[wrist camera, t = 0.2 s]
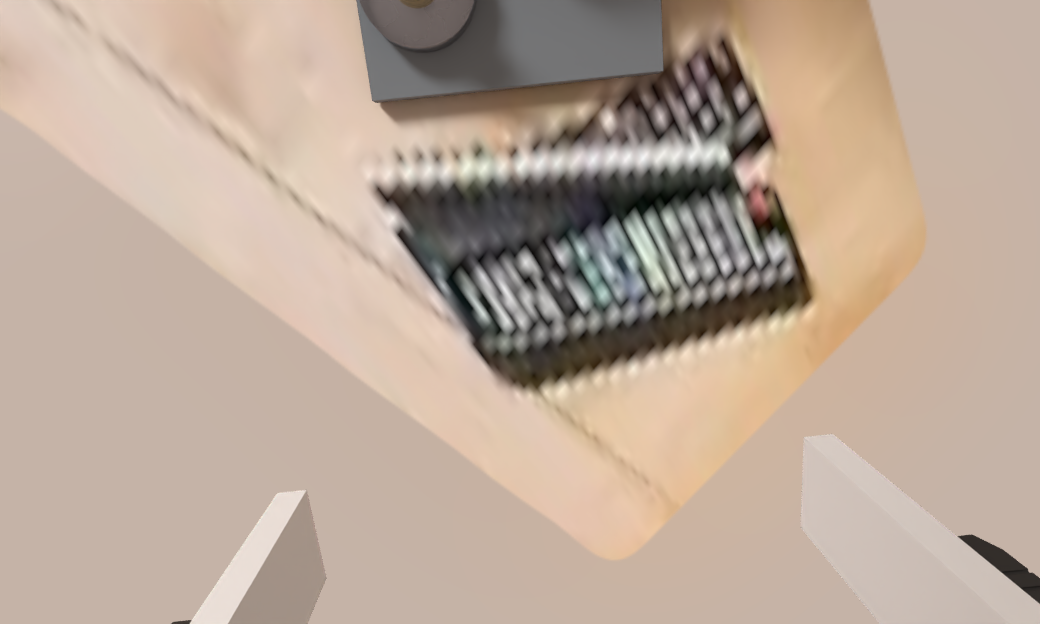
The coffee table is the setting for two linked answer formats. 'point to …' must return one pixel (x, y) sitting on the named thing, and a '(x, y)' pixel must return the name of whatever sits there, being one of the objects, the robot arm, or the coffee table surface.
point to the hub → (420, 22)
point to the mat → (522, 48)
